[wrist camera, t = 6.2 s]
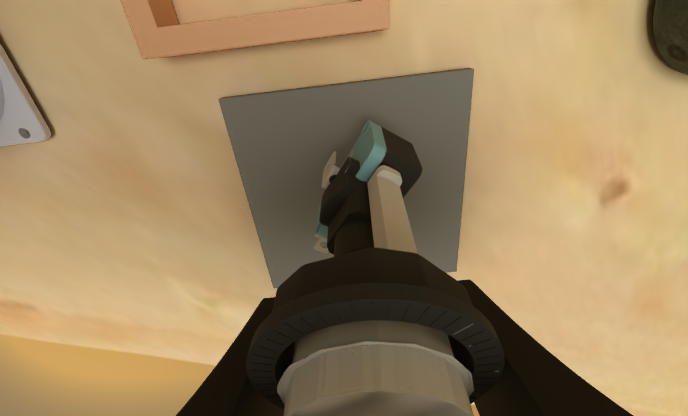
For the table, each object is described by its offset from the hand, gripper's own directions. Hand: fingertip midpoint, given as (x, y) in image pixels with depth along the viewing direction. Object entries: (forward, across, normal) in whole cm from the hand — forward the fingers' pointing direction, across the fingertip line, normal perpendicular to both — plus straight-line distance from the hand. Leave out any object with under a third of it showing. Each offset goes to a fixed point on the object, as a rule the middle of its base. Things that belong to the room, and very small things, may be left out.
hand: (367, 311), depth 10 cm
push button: (+6, 0, -2) cm, 6 cm away
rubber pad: (+9, 0, 0) cm, 9 cm away
